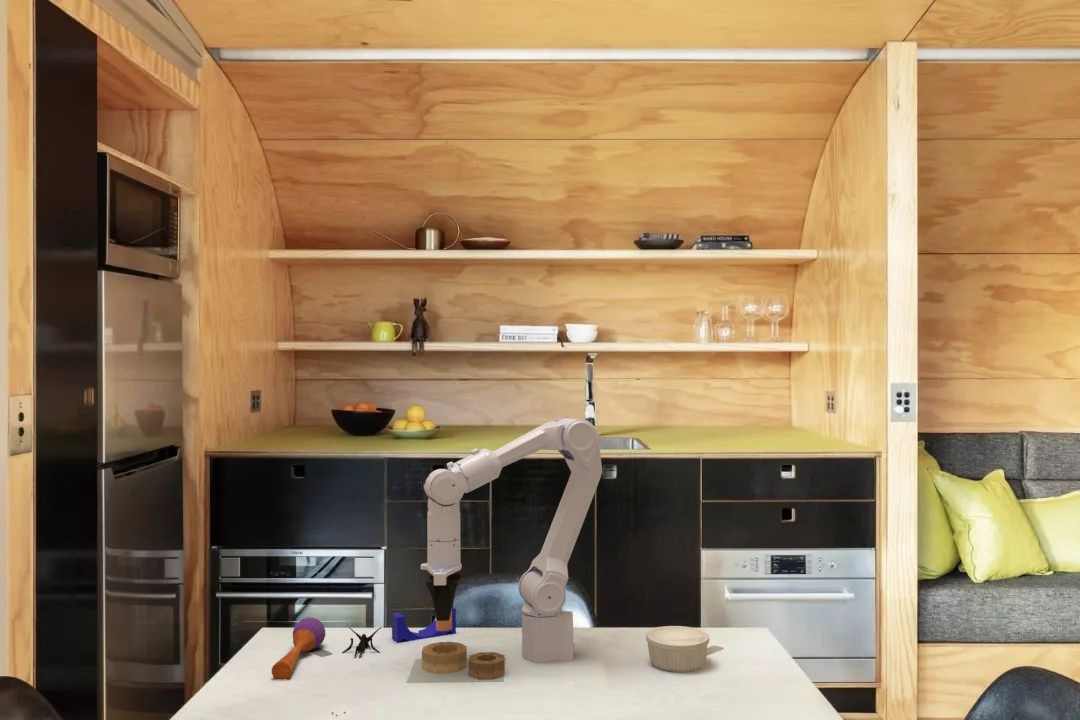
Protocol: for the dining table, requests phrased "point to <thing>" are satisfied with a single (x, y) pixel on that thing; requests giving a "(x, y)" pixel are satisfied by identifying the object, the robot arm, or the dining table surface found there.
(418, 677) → the board
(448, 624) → the orange rounded peg
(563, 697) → the dining table surface
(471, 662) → the walnut bead
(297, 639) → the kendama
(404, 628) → the blue curved cradle
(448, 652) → the oak bead
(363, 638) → the creature
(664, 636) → the ramekin
